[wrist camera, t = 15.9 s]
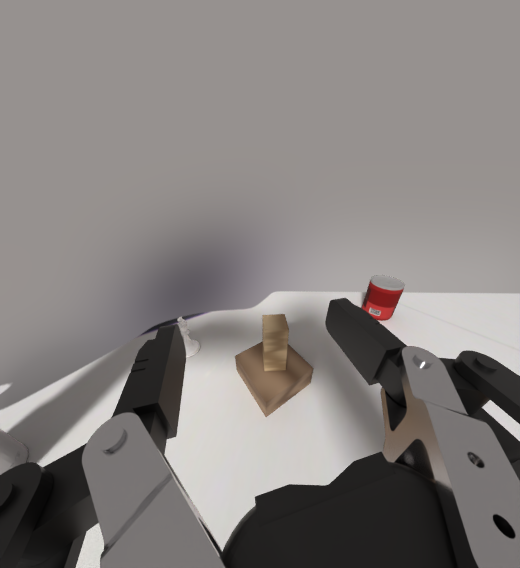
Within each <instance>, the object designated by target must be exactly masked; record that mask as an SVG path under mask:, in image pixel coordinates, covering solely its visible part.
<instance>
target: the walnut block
mask: <svg viewBox="0 0 520 568" xmlns="http://www.w3.org/2000/svg"><path fill="white" fill-rule="evenodd" d="M235 359H236V367H237V371H238V373H239V375H240V376H241V378H242V379H243V381H244V383H245V384H246V386H247V387H248V389H249V391H250V392H251V394H252V395H253V397H254V399H255V400H256V402H257V403H258V405H259V407H260V408H261V410H262V412H263V413H264V415H265V416H266V417H267V416H268V415H270V414H271V413H272V412H274V411H275V410H276V409H278V408H279V407H280V406H281V405H283V404H284V403H285V402H287V401H288V400H289V399H290V398H292V397H293V396H294V395H296V394H297V393H298V392H300V391H301V390H302V389H303V388H305V387H306V386H307V385H309V384H310V383H311V378H312V373H313V368H312V367H311V366H310V365H309V364H308V363H307V362H306V361H305V360H304V359H303V358H302V357H301V356H300V355H299V354H298V353H297V352H296V351H295V350H294V349H293V348H292V347H291V346H290V345H288V346H287V358H286V370H280V371H264V362H263V342H261V343H259V344H257V345H255V346H253V347H251V348H249V349H247V350H246V351H244V352H242V353H240V354H238V355H236V356H235Z"/></svg>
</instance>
